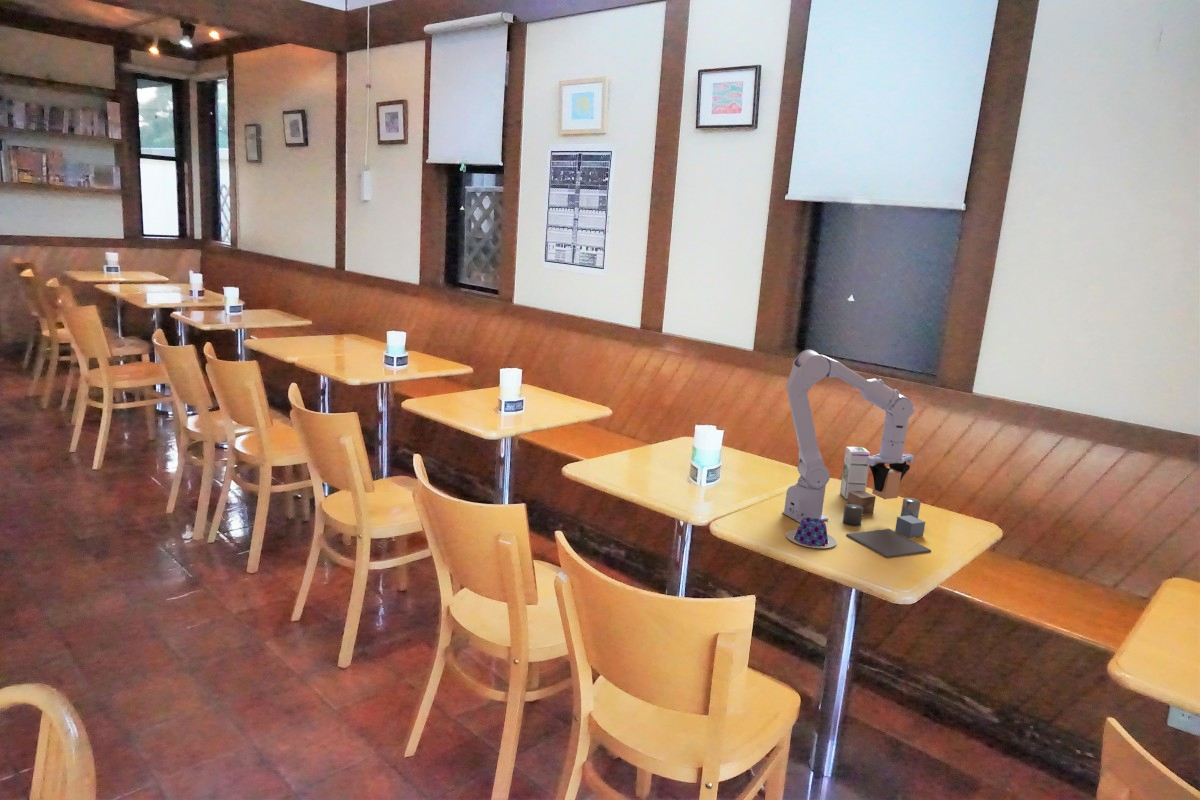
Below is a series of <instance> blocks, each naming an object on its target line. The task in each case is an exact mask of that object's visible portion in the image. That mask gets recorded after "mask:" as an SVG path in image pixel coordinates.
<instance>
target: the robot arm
mask: <svg viewBox="0 0 1200 800" xmlns="http://www.w3.org/2000/svg"><path fill="white" fill-rule="evenodd" d="M825 377H827V378H829V379H831V378H839V379H840V380H842V381H844V382H845V383H847V384H849V385H851V386H853V387H854V388H856V389H858V390H859V391H860V395H861V397H862V398H863V399H864V400H866V401H868V402H870V403H871V404H873V405H875V406H876V407H877V408H880V409H881V410H884V411H885V416H884V423H883V430H882V435H881V436H882V437H881V442H880V448H879V453H877V454H874V455H870V457H867V460H866V464H868V465H869V469H870V471H871V474H872V478H873V485H874V487H875V490H877V491H879V492H882V490H883V488H884V483H885V479H886V476H887V474H888V472H889V470H890V469H889V468H892V469H894V470H897V471H899V472H902V473H901V479H900V483H901V481H902V480H903V478H904V476H905V475H906V474H907V472H908V471H909V470H910V469H911V465H910V464H914V459H915V455H914V454H913V455H912V454H910V453H904V451H905V444H906V439H907V438H906V437H907V431H908V426H909V419H910V418H911V417H912V416H913V415H914V412H915V409H914V404H913V402H912V400H911V398H908V397H906V396H905V395H903V394H901V392H900V390H898V389H897V388H895V389H893V388H892V387H889V386H888V385H886V384H885V381H884V380H882V379H881V378H878V379H877V378H870V379H866V378H865V377H863V376H861V375H860V374H858V373H857V372H855V371H854V370H852V369H850V368H849V367H847V366H846V365H844V363H843V364H842V363H841V362H840V361H838V360H836V359H833V358H831V357H829V356H827V355H824V354H819V353H818V352H817V351H815V350H812V349H805V350H803V351H801V352H800V353H799V354H798V356H796V358H795V359H794V360H793V361H792V367H791V371H790V373H789V376H788V379H787V382H786V385H785V387H786V388H785V390H786V395H787V398H788V403H789V408H790V412H791V417H792V421H793V427H794V431H795V435H796V440H797V441H796V442H797V446H798V454H797V455H798V463H797V471H798V473H799V476H798V479H797V483H795V484H794V485H791V486H788V487H787V490H786V495H785V502H784V508H783V509H784V510H782V511H781V513H782V514H784V515H786V516H787V517H789V518H791V519H792V520H794V521H797V522H798V523H800V522H801V520H802V519H803V518H808V517H810V518H817V519H819V520H822V521H828V520H829V517H827V516H825V515H824V514H823V508H824V502H825V494H826V487H827V484H828V483H829V481H830V478H831V474H830V471H829V469H828V468H827V467H826V466H825V463H824V459H823V456H822V454H821V452H820V450H819V444H818V439H817V434H816V429H815V425H814V424H815V423H814V419H813V413H812V410H811V404H810V401H809V396H808V392H809V390H810V389H811V388H812V387H813V386H814V385H815V384H817V383H818V382H820V381H821V380H822V379H824V378H825ZM907 463H910V464H907ZM886 465H889V466H887V467H889V468H887V467H886Z"/></svg>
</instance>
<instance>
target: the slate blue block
mask: <svg viewBox="0 0 1200 800" xmlns="http://www.w3.org/2000/svg"><path fill="white" fill-rule="evenodd" d="M925 526H926V521H924V520H922V519H920V518H919V517H918V518H915V517H913V516H911V515H908V516H901V515H900V516H896V524H895V529H894V530H895V531H894V532H896V531H897V532H896V533H898V534H900V535H902V536H904V537H906V538H908V537H909V538H908V539H913V537H915V538H920V536H923V537H924V533H925V528H926V527H925Z"/></svg>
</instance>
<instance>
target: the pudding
mask: <svg viewBox="0 0 1200 800" xmlns="http://www.w3.org/2000/svg"><path fill="white" fill-rule="evenodd" d="M794 535H795V536H794ZM785 536H786V538H787V539H788V540H789V541H791V542H793V543H795V544H797V545H799V546H803V547H807V548H813V549H828V548H833V547H835V546H836V545H837V540H836V539H835V538H834V537H833V536H831V535H830V534H828V531H827V524H826V523H825V522H824V520H819V519H817V518H810V517H808V518H803V519H802V520H801V522H799V525H798V526H797V529H792V530H789V531H787V532H786V534H785ZM793 536H794V539H793ZM796 541H797V542H796ZM828 541H829V543H828ZM825 544H826V545H825ZM806 545H807V546H806ZM811 546H813V547H811ZM814 546H815V547H814ZM820 546H823V547H820ZM824 546H825V547H824Z"/></svg>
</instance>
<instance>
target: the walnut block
mask: <svg viewBox="0 0 1200 800" xmlns="http://www.w3.org/2000/svg"><path fill="white" fill-rule="evenodd" d="M876 497H877V496H876V495H874V494H872V493H870V492H867V491H863V490H862V491H852V492H849V494H848V500H847V502H846V504H855V505H859V506H861V507H863V514H864V515H870V513H871V515H872V514H874V510H875V505H876Z"/></svg>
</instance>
